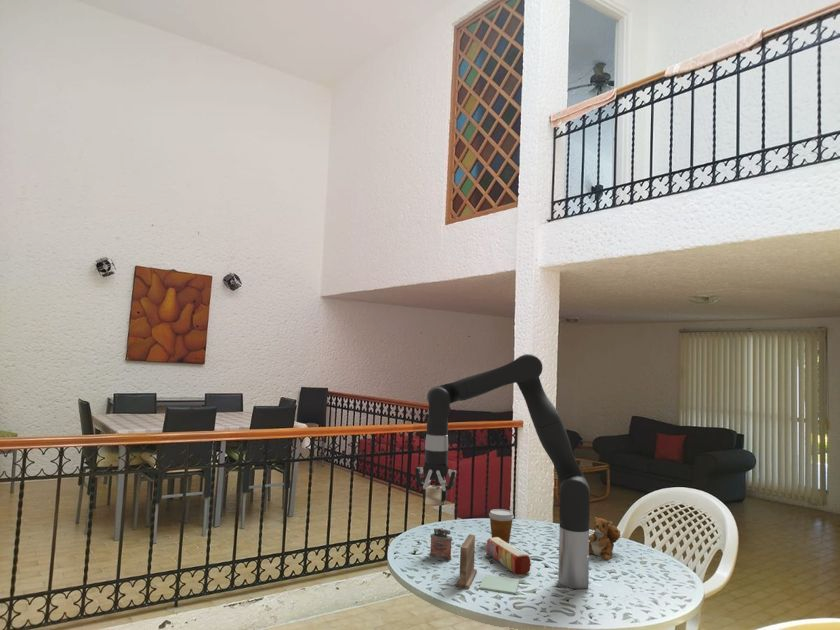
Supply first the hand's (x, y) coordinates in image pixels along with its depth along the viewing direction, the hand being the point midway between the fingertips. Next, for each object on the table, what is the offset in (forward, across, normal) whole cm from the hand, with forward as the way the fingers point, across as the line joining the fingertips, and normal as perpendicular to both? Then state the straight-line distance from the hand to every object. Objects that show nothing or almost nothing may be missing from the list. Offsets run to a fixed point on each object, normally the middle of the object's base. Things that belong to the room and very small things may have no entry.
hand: (434, 500), depth 183 cm
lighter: (+23, +1, -16) cm, 28 cm away
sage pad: (+23, -22, 0) cm, 32 cm away
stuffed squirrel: (+24, -54, -44) cm, 74 cm away
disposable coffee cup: (+23, -17, -39) cm, 49 cm away
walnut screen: (+23, -11, 0) cm, 26 cm away
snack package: (+24, -22, -19) cm, 37 cm away
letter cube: (+1, 0, 0) cm, 1 cm away
